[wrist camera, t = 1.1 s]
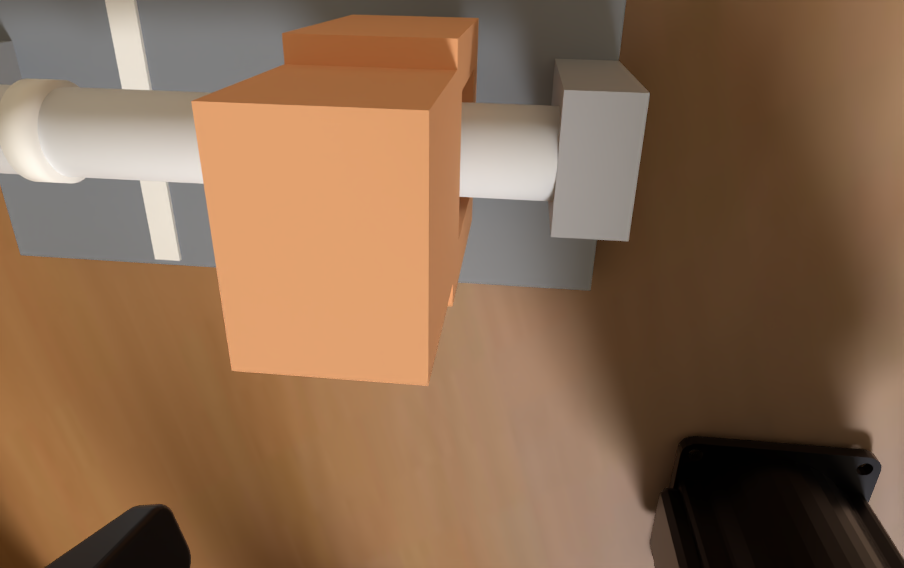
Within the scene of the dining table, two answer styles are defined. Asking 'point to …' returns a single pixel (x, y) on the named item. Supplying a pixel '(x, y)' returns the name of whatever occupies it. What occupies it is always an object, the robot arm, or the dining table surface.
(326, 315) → the collar
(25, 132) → the rail stand
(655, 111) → the dining table surface
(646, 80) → the dining table surface
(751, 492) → the robot arm
